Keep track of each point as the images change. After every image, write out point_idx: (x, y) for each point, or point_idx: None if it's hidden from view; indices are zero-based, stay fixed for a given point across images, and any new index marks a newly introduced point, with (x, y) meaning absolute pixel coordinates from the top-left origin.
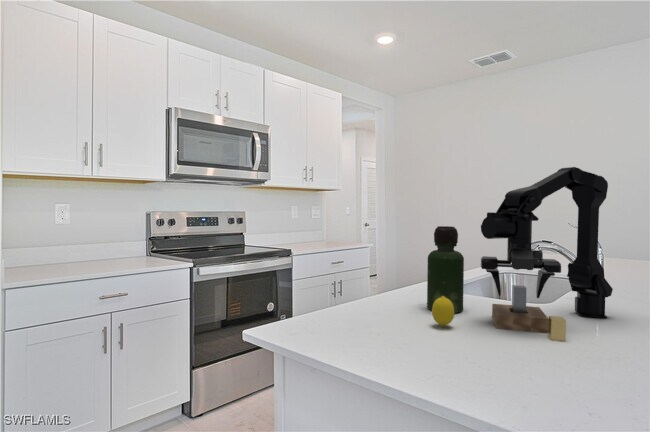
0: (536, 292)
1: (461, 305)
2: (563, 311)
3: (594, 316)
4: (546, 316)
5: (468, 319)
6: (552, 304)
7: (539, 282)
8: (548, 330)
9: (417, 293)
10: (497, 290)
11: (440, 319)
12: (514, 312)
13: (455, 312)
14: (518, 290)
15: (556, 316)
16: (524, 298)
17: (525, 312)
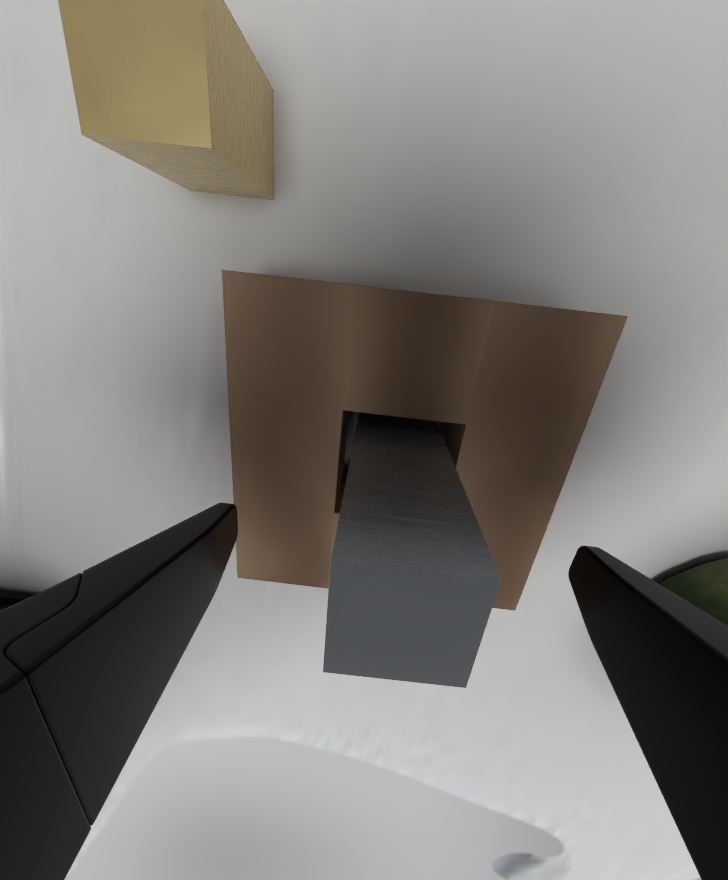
0: (218, 573)
1: None
2: None
3: (7, 595)
4: (227, 348)
5: (664, 470)
6: (169, 734)
7: (93, 642)
8: (261, 182)
9: None
10: (650, 586)
11: None
12: (441, 419)
13: (698, 565)
14: (432, 543)
15: (138, 125)
16: (363, 482)
17: (359, 429)
